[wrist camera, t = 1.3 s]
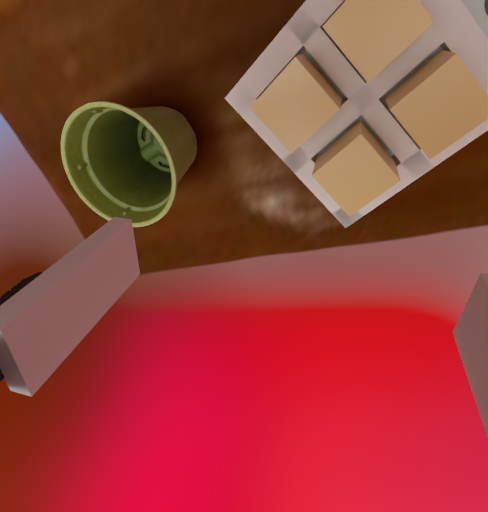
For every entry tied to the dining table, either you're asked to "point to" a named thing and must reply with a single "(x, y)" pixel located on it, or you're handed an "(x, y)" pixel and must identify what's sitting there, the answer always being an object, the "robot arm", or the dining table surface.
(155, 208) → the plant pot
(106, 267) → the robot arm
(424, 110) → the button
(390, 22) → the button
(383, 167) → the tan cube block
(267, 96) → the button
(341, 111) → the board
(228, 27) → the dining table surface
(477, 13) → the pattern card
